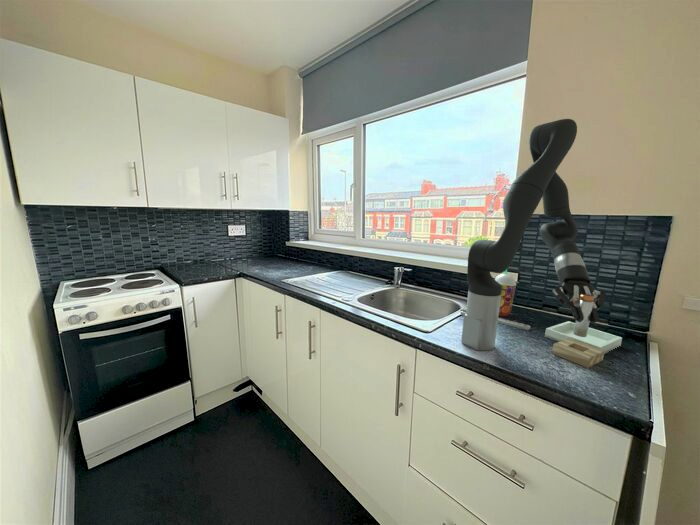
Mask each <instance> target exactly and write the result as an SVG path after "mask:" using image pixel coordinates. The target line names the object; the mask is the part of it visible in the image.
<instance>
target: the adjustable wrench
mask: <svg viewBox="0 0 700 525" xmlns="http://www.w3.org/2000/svg"><path fill="white" fill-rule="evenodd" d="M466 309H467V308H461V309H460V316H463V317H464V315H465V314H466ZM461 311H463V312H461ZM498 324H501V325H505V326H510V327H512V328H513V327H514V328H518V329H521V330H525V331H530V330H531V325H529V324H524V323H521V322H516V321H512V320H507V319H505V318H499V317H498Z"/></svg>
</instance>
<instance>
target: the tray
mask: <svg viewBox="0 0 700 525" xmlns="http://www.w3.org/2000/svg"><path fill="white" fill-rule="evenodd" d="M575 323H576V322H572V321H569V320H568V321H565V322H562V323H558V324H555V325H552V326H549V327H546V328H545V331H544V332H545V333H544V338H547V339H550V340H551V341H555V342H560V341H563V340H565V339H568V338H570V339H573V340H575V341H578V342H581V343H584V344H587V345H590V346H592V347H595V348H598V349H601V350H604V351H605V352H604V355H605V354H607V353H609V351H610V352H611V350H612V351H614V350H616V349H618V348H620V347H621V345H622V341H623V337H621V336H618V335H614V334H612V333H609V332H605V331H601V330H599V329H597V328H596V329H595V328H593V327H588V332H587V337H580V336H577V335H574V334H573V333H574V328H575ZM619 346H620V347H619ZM617 347H618V348H617ZM615 348H616V349H615ZM613 349H614V350H613Z"/></svg>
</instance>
